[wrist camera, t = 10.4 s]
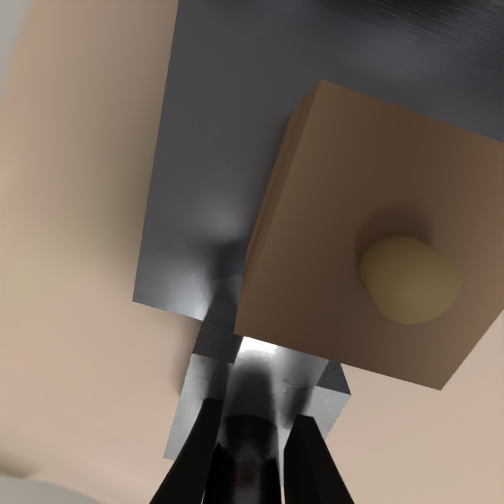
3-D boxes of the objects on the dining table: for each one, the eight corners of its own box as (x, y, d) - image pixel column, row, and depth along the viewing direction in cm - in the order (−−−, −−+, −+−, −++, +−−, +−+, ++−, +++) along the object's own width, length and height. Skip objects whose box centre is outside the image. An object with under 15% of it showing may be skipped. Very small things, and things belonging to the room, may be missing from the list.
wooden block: (422, 160, 9) (682, 186, 3) (361, 279, 10) (467, 427, 5) (289, 115, 8) (335, 62, 3) (247, 246, 10) (229, 363, 5)
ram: (363, 292, 11) (498, 491, 5) (289, 433, 14) (310, 663, 8) (223, 251, 11) (163, 408, 4) (180, 405, 14) (109, 625, 8)
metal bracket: (580, 71, 8) (756, 30, 5) (393, 361, 13) (433, 427, 10) (200, -72, 7) (159, -215, 5) (140, 291, 12) (99, 340, 9)
